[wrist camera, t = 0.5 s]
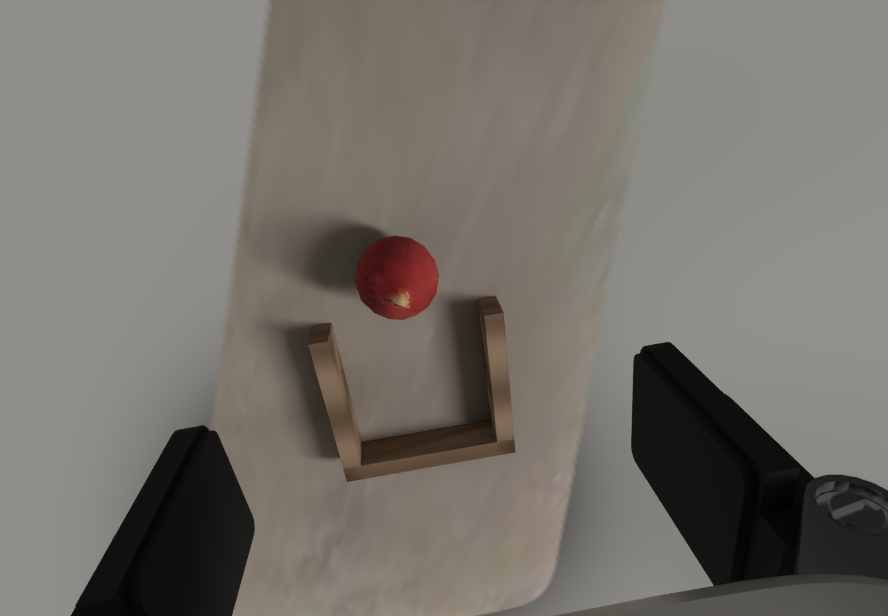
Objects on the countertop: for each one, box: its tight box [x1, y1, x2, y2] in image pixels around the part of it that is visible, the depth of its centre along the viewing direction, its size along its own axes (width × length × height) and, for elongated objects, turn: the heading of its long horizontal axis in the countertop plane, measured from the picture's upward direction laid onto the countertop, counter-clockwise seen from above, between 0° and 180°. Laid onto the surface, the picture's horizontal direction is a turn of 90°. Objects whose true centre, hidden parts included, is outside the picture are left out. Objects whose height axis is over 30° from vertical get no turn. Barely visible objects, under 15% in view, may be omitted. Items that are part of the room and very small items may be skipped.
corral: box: [308, 297, 515, 482], centre depth 43 cm, size 14×15×3 cm
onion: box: [355, 236, 439, 320], centre depth 36 cm, size 6×6×8 cm
